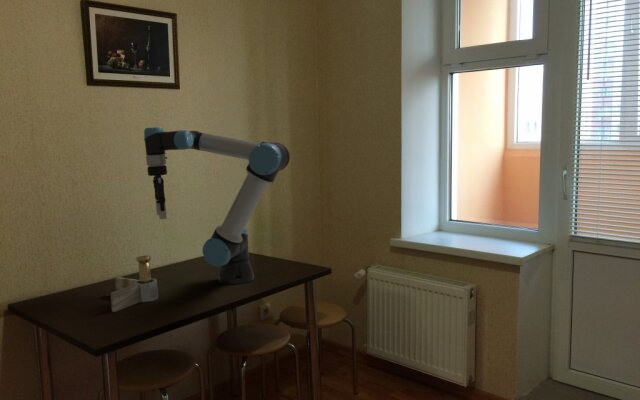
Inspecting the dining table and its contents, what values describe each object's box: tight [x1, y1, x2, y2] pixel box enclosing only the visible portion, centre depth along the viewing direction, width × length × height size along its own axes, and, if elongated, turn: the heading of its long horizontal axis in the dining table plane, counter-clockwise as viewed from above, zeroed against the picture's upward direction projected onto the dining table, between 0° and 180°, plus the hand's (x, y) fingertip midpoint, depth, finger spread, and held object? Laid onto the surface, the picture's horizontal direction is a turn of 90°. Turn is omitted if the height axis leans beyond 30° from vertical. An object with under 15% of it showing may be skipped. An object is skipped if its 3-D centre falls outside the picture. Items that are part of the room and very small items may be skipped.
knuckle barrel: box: [134, 277, 159, 303], centre depth 203 cm, size 8×8×7 cm
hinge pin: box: [135, 255, 152, 284], centre depth 203 cm, size 5×5×17 cm
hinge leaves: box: [110, 276, 141, 313], centre depth 200 cm, size 17×17×7 cm
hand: (161, 217), depth 216 cm, fingers open, 13 cm apart
